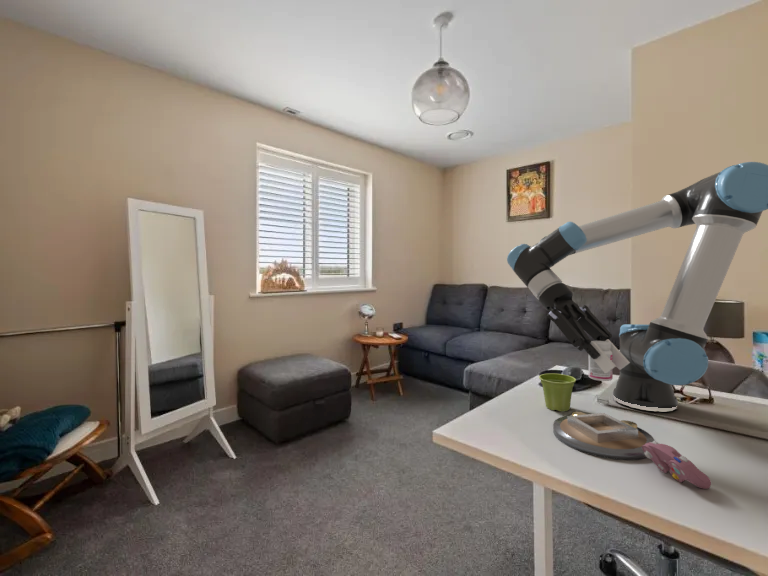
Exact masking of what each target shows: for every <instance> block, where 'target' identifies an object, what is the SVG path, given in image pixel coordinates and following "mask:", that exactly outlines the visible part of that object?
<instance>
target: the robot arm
mask: <svg viewBox="0 0 768 576" xmlns="http://www.w3.org/2000/svg"><path fill="white" fill-rule="evenodd" d="M766 210H768V164H767V163H764V162H758V161H744V162H742V163H741V162H740V163H738V164H734V165H729V166H727V167H726V168H723V170H721V171H718V172H717V173H714V174H712V175H710V176H707V177H703V178H702V179H700V180H699V181H698V180H697V182H695V183H692V184H691V185H689V186H686V187H685V188H683V189H680V190H678V191H676V192H672V193H670V194H667V195H666V194H665V195H664V196H663V197H662V198H661V200H660V201H656V202H653V203H650V204H646V205H643V206H639V207H637V208H633V209H630V210H627V211H623V212H621V213H618V214H614V215H610V216H607V217H604V218H601V219H597V220H594V221H592V222H588V223H585V224H582V225H577V224H576V223H575V222H573V221H567V222H565V223H563V224H562V225H560V226H558V228H556V229H555V230H553V231H552V232H551V233H550V234H548V235H546V236H544V237H543V238H541V239H540V241H538V242H537V243H535V244H534V245H532V246H531V245H528V244H527V243H521V244H519V245H517V246H515V247H514V248H512V249H511V250H510V251H509V253H508V255H507V257H506V261H507V264H508V265H509V267H510V268H511V269H512V271H513V272H514V273H515V275H516V276H517V277H518V278H519V279H520V280H521V281H522V283H523V284H524V285H525V286H526V287H527V289H528V290H529V291H530V292H531V293H532V295H533V296H534V297H535V298H536V299H537V300H538V302H539V303H540V305H541V306H542V307H543V308H544V309H545V311H547V315H546V317H547V318H548V319H549V320H551V321H552V322H553V323H554V324H555V326H556V327H557V328H558V329H559V331H561V333H562V334H563V335H564V336H565V338H567V340H568V341H569V342H570V344H571V345H572V346H573V347H574V348H577V350H578V351H583V350H585V352H586V353H587V354H589V355H590V356H591V358H592V359H593V360H594V361H595V362H596V363H597V364H598V366H599V367H600V368H601V369H602V370H603V372H604V373H608V372H609V371H610V370H612V369H615V368H617V369H618V370H619V376H618V379H617V382H616V385H615V388H614V389H613V391H612V396H613V395H614V396H615V397H616V398H618V399H620V400H622V401H624V402H628V403H631V404H637V405H640V406H646V407H658V408H672V407H676V406H677V405H678V406H679V401H678V398H677V396H675V391H674V388H673V386H686V385H689V384H692V383H695V382H696V381H698V380H700V379H701V378H702V377H703V376H704V375H705V374H706V372H707V370H708V367H709V357H708V355H707V353H706V351H705V347H706V345H707V344H708V343H707V342H708V339H709V337H708V334H707V333H706V332H705V330H704V328H705V326H706V323H707V320H708V318H709V316H710V314H711V312H712V309H713V307H714V304H715V302H716V299H717V296H718V294H719V292H720V290H721V287H722V285H723V283H724V281H725V278H726V276H727V273H728V271H729V269H730V266H731V264H732V262H733V260H734V256H735V254H736V252H737V250H738V248H739V245H740V243H741V240H742V238H743V236H744V234H745V233H747V232H750V231H752V230H754V229H756V228H757V226H758V223H759V221H760V218H761V216H762V213H763V212H764V211H766ZM691 225H695V226H696V229H695V231H694V233H693V236H692V238H691V240H690V243H689V245H688V248H687V251H685V252H686V253H685V254H684V258H683V260H682V262H681V265H680V267H679V270H678V272H677V275H676V277H675V280H674V282H673V285H672V288H671V290H670V292H669V295H668V298H667V300H666V302H665V305H664V307H663V310H662V312H661V315H660V316H659V317H658V318H655V319H652V320H651V321H649V322H650V323H649V324H636V323H635V324H631V323H629V324H628V323H627V324H626V323H625V324H622V325H621V326H620V327H619V334H618V337H619V349H618V348H617V347H616V346H615V344H614V343H613V342H612V341H611V340H610V339H611V338H613V334H612V333H611V332H610V330H608V329H607V328H606V326H604V324H603V323H602V322H601V321H600V320H599V319H598V318H597V317H596V316H595V315H594V314H593V313H592V312H591V310H590V308H589V307H588V306H587V305H585V304H584V305H583V306H580V305H579V304H578V303H577V302H575V300H573V295H574V294H573V292H572V290H571V289H570V288H569V287H568V286H567V285H566V284H565V283H564V282H563V281H562V279H561V278H560V277H558V275H557V274H556V272H554V271H553V270H552V269H551V268H552V267H554V266H555V265H556V264H558V263H559V262H561V261H562V260H564V259H566V258H567V257H568V256H572V255H574V254H575V255H576V254H578V253H582V252H586V251H588V250H592V249H595V248H599V247H602V246H607V245H610V244H613V243H616V242H620V241H623V240H627V239H631V238H633V237H638V236H641V235H645V234H648V233H651V232H655V231H659V230H661V229H665V228H671V229H679V228H681V227H686V226H691ZM589 336H590V337H591V338H592V339H593V341H606V342H610V344H611V349H610V351H611V352H612V354H613V362H612V361H611V360H610V359H609V357H608V356H607V355H606V354H605V353H604V352H603V351H602V349H601V348H600V347H599V346H598V345H597V344H596V343H595V342H592V343H591V341H592V340H591V339H590V337H589Z"/></svg>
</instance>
